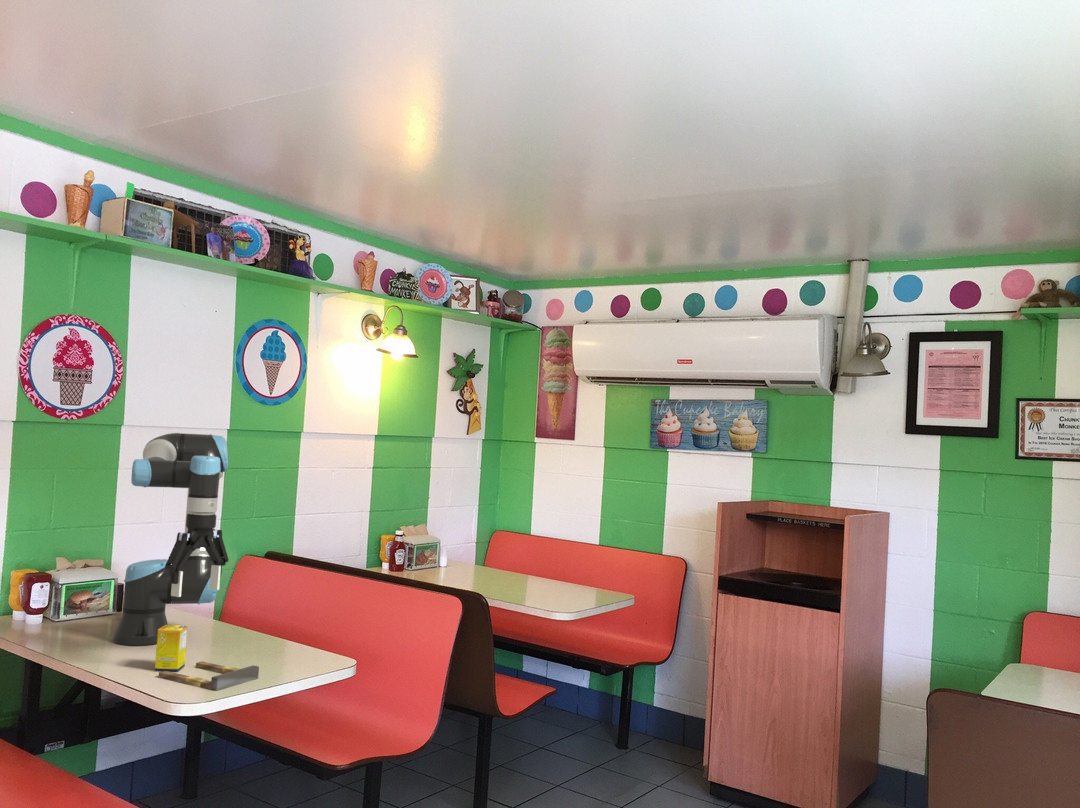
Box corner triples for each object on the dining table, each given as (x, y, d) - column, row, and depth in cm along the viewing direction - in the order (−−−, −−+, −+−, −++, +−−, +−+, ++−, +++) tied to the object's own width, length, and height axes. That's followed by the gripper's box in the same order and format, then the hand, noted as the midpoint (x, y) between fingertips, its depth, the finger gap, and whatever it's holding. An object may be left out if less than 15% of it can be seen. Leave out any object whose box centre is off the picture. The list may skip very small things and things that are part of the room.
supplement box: (162, 665, 228) (165, 624, 228) (185, 666, 228) (188, 625, 229) (153, 671, 222) (157, 629, 222) (177, 672, 222) (180, 630, 223)
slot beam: (158, 677, 217) (159, 665, 217) (201, 665, 230) (202, 654, 230) (216, 690, 208) (217, 678, 209) (258, 678, 221) (259, 666, 221)
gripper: (176, 516, 217) (169, 601, 216) (245, 512, 240) (239, 588, 239) (154, 514, 220) (147, 597, 219) (224, 509, 243) (218, 585, 242)
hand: (195, 592), depth 229 cm, fingers open, 13 cm apart
